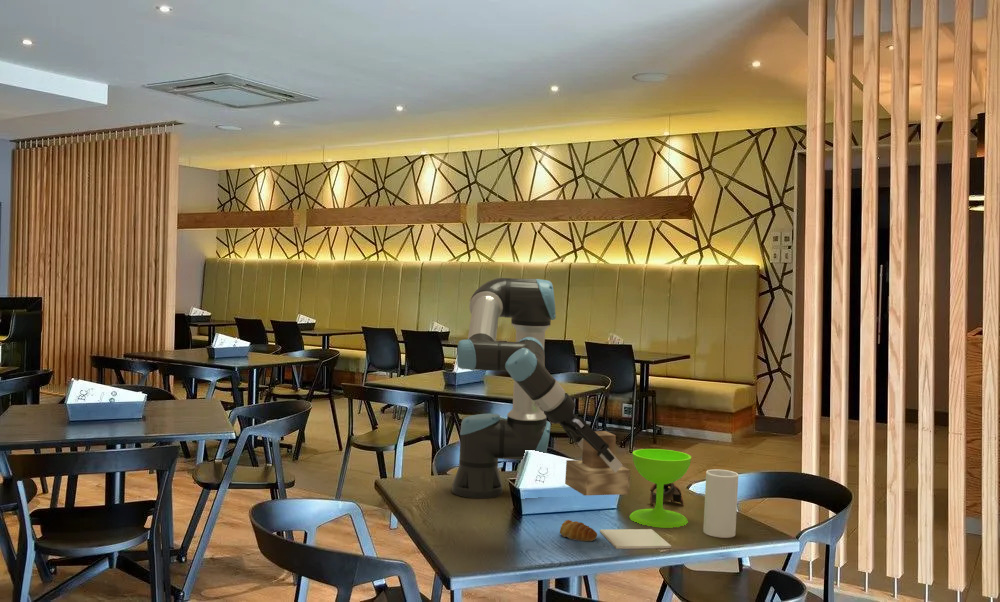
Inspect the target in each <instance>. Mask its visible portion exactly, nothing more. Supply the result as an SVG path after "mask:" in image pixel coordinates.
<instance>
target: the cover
mask: <svg viewBox="0 0 1000 602" xmlns="http://www.w3.org/2000/svg"><path fill="white" fill-rule="evenodd" d="M594 431H595V430H594ZM595 432H596V433H597V434H598V435H599V436H600V437H601V438H602V439H603V440H604V441H605V442H606V443H607V444H608V445H609V450H610V451H611V452H612V453H613V454H614V455H615V456H616V440H617V438H616V437H617V435H615V434H614V433H611V432H609V431H606V430H596V431H595ZM597 453H598V452H597V451H596V450H595V449H594V448H593V447H592V446H591V445H590V444H589V443H588V442H586V441H585V440H584V439H583V450H582V459H580V460H579V459H577V460H575V459H573V460H572V459H571V460H568V459H567V460H565V461H566V462H565V464H566V465H565V479H564V480H565V481H564V482H565V485H566V486H568V487H569V488H571V489H573V490H575V491H577V492H578V493H579V494H581V495H583V496H613V495H616V496H618V495H630V483H631V482H630V481H631V469H630V468H627V467H625V466H624V465H623V466H622V467H621V468H620V469H619V470H618V471H617V472H616V473H614V472H613V471H612V469H611V468H610V467H609V466H608V465H607V464H606V462H605V461H604V460H603V459H602V458H601V457H600V456H597Z"/></svg>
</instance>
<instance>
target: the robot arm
mask: <svg viewBox="0 0 1000 602" xmlns="http://www.w3.org/2000/svg"><path fill="white" fill-rule="evenodd" d="M469 300H470V301H469V312H470V314H471V315H470V320H469V321H470V322H469V329H468V335H467V339H461V340H459V341H458V342H457V354H456V365H457V367H458V368H459V369H463V370H470V371H494V372H495V371H498V372H507V373H508V375H510V378H511V379H513V392H512V393H513V395H512V409H511V410H509V412H508V413H507V414H506V416H507V417H506V419H501V415H500V414H498V413H480V414H479V413H478V414H472V415H468V416H466V417H464V418H463V419H462V420H461V423H460V424H461V425H460V432H459V435H460V436H459V438H460V439H459V440H460V441H459V459H458V460H459V462H458V468H457V470H456V474H455V477H454V478H453V482H452V487H451V488H452V489H451V491H452V493H453V494H454V495H456V496H460V497H463V498H469V499H491V498H492V499H493V498H497V497H499V496H502V495H503V493H504V492H503V491H504V490H503V487H504V486H503V483H502V482H503V481H502V479H501V475H500V474H501V473H500V471H499V459H502V460H516V461H517V460H519V461H521V460H522V459H523V456H524V453H525V450H535V451H539V452H543V453H546V454H547V452H548V450H547V449H548V447H549V443H550V442H549V441H550V433H551V425H552V424H560V426H561V427H562V429H563V430H564V432H565V433H566V434H567V436H568V437H569V439H570V440H571V441H572V440H573V442H574V443H576V444H577V445H578V446H579V448H580V449H581V450H582V451H583V439H584V440H585V441H586V442H588V443H589V444H590V445H591V446H592V447H593V448H594V449H595V450H596V451H597V452H598V453H597V456H600V457H601V458H602V459H603V460H604V461H605V462H606V464H607V465H608V466H609V467H610V468H611V469H612V471H613V472H614V473H616V472H617V471H618V470H619V469H620V468H621V467H622V466H623V467H624V465H623V464H622V462H621V461H620V460H619V459H618V458H617V456H616V454H615V455H614V454H613V453H612V452H611V451H610V450H609V445H608V444H607V443H606V442H605V441H604V440H603V439H602V438H601V437H600V436H599V435H598V434H597V433H596V432H595V430H594V429H592V428H591V427H590V425H589V424H588V423H587V422H586V421H585V420H584V418H583V417H580V416H579V415H578V414H577V413H576V414H575V413H574V409H575V407H576V402H575V401H574V400H573V399H572V397H571V396H570V395H569V394H568V393H566V390H565V389H564V388H563V387H562V386H561V384H560V383H559V382H558V381H557V380H556V379H555V378H554V377H553V375H552V374H550V372H549V371H548V370H547V368H546V366H545V359H546V358H545V357H546V354H545V353H546V352H545V342H546V339H545V338H546V331H547V330H548V329H549V328H550V327H551V322H552V321H554V320H556V318H557V316H556V315H557V314H556V302H555V291H554V285H553V283H552V281H550V280H548V279H547V280H546V279H541V278H513V277H512V278H511V277H499V278H494V279H491V280H489V281H487V282H485V283H483V284H482V285H480V286H479V287H478V288H477V289H476V290H475V291H474V292H473V294H472V295H471V298H470V299H469ZM499 318H509V319H511V321H510V323H511V325H512V326H513V328H514V329H515V341H502V340H500V341H499V340H497V335H498V324H499ZM547 419H548V420H549V421H548V420H547ZM551 423H552V424H551ZM522 461H523V460H522Z"/></svg>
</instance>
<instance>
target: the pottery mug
mask: <svg viewBox="0 0 1000 602" xmlns="http://www.w3.org/2000/svg"><path fill="white" fill-rule="evenodd" d="M649 490H650V497H649V503H650V505H651V504H653V505H654V504H656V492H654V491H656V490H657V484H655V483H653V485H651V487H650V489H649ZM681 491H682V490H681V489H680V488H679V487H678V486H677V484H674V482H673V483H669V484H664V489H663V503H666V502H668V501H670V503H680V504H681V506H682V507H684V499H683V498H684V497H682V492H681Z"/></svg>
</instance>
